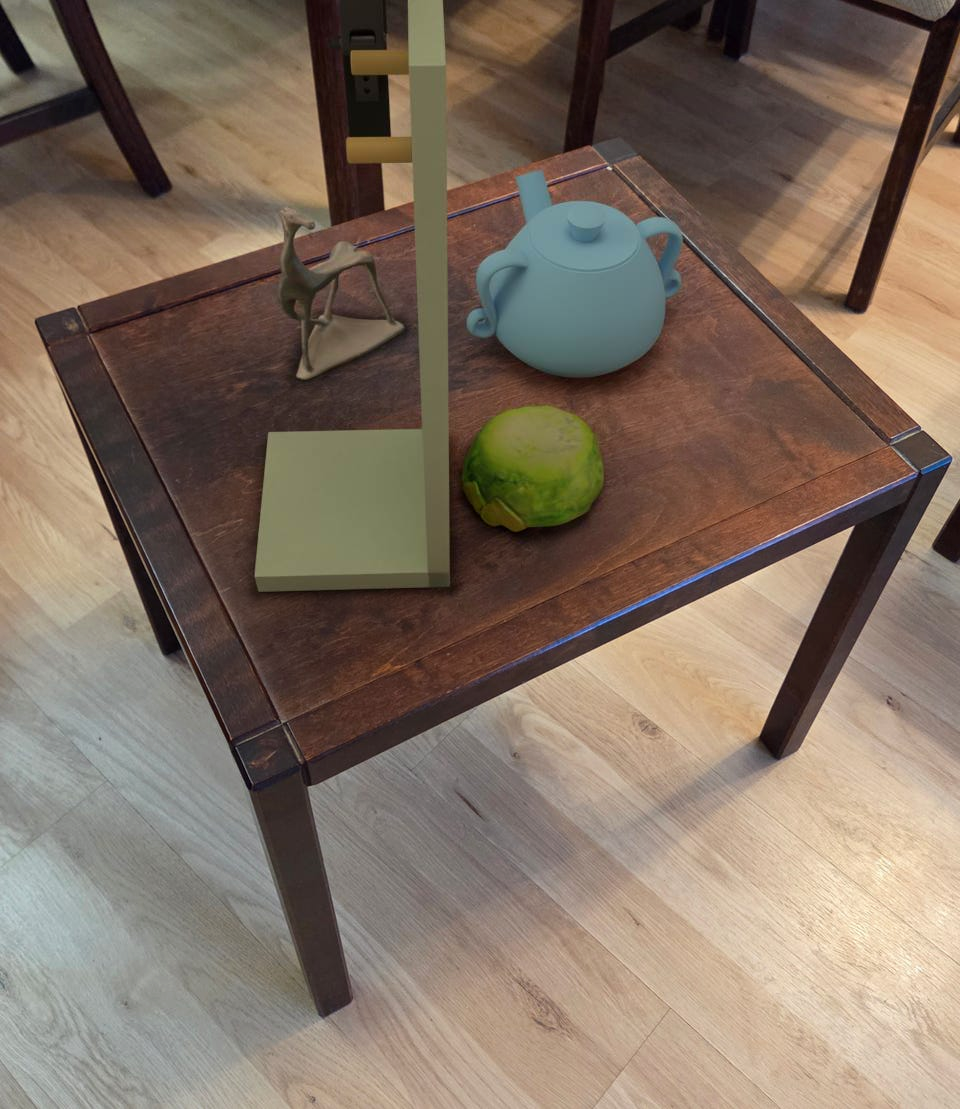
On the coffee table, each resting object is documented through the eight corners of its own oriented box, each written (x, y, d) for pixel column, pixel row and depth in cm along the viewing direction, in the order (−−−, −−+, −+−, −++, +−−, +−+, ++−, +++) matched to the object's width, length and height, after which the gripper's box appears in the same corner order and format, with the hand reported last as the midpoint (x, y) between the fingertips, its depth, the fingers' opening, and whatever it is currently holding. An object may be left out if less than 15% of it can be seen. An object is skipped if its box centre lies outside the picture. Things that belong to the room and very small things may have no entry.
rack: (258, 592, 77) (115, 67, 45) (271, 448, 85) (159, -84, 53) (449, 587, 78) (445, 65, 45) (444, 444, 86) (438, -84, 53)
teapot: (497, 420, 87) (503, 301, 77) (424, 270, 98) (420, 149, 88) (710, 367, 92) (743, 247, 81) (617, 229, 103) (635, 109, 92)
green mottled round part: (563, 559, 79) (569, 517, 75) (438, 503, 82) (438, 460, 78) (625, 459, 85) (634, 417, 81) (507, 410, 88) (510, 367, 84)
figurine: (374, 293, 96) (362, 146, 84) (411, 335, 93) (404, 188, 81) (266, 337, 93) (238, 190, 81) (300, 382, 90) (276, 235, 78)
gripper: (425, -207, 49) (431, 189, 66) (408, -366, 64) (417, -8, 81) (262, -207, 49) (311, 192, 66) (282, -368, 63) (318, -7, 80)
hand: (369, 82), depth 73 cm, fingers open, 13 cm apart
